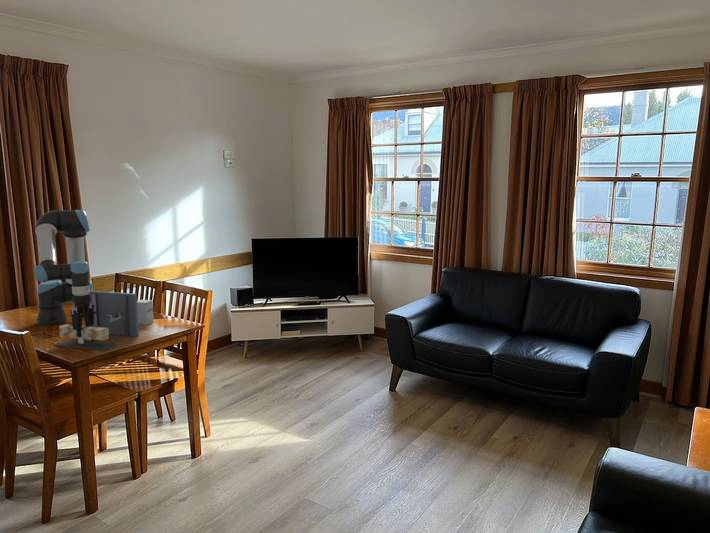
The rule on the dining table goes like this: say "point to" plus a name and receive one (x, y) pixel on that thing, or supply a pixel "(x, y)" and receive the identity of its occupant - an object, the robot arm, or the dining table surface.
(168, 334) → the dining table surface
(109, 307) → the wall board
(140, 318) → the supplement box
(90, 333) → the birch rail
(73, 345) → the rubber mat
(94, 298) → the hook standards
